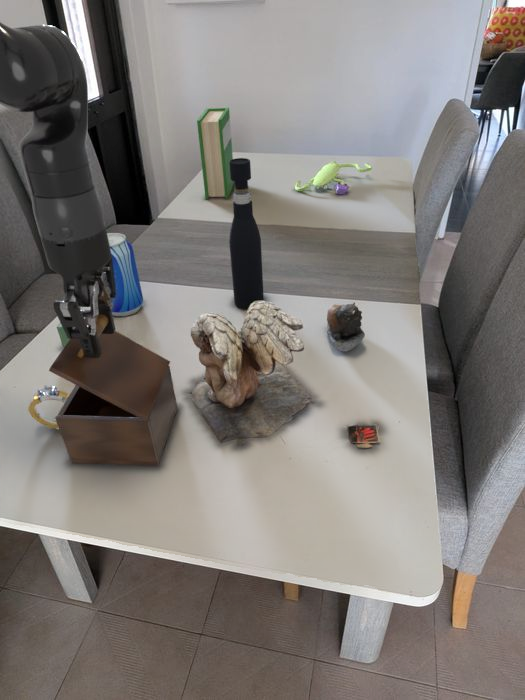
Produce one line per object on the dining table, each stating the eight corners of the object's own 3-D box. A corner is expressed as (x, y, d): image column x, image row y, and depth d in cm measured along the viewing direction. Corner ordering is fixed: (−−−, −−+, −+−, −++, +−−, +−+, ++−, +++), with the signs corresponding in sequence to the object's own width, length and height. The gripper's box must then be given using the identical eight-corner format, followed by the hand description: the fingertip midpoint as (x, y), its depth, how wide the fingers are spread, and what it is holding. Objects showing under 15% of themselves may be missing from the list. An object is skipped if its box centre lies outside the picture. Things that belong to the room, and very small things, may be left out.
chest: (71, 462, 76) (54, 418, 71) (101, 405, 86) (88, 363, 81) (157, 466, 75) (147, 421, 70) (177, 407, 85) (169, 365, 80)
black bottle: (254, 312, 109) (245, 167, 91) (228, 305, 111) (215, 163, 94) (269, 298, 113) (263, 157, 96) (244, 292, 116) (234, 154, 98)
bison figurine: (321, 324, 104) (322, 279, 98) (356, 322, 104) (359, 277, 98) (330, 359, 94) (332, 312, 88) (369, 357, 94) (373, 309, 88)
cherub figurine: (272, 355, 96) (269, 268, 85) (325, 412, 82) (328, 317, 72) (182, 386, 90) (167, 296, 79) (224, 453, 76) (211, 356, 66)
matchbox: (344, 428, 79) (344, 426, 79) (375, 422, 80) (375, 420, 80) (354, 450, 75) (355, 448, 75) (387, 444, 76) (388, 441, 76)
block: (63, 348, 101) (56, 326, 98) (73, 334, 105) (66, 313, 102) (87, 348, 100) (81, 327, 97) (97, 334, 104) (91, 313, 101)
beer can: (97, 310, 112) (79, 241, 103) (128, 294, 117) (113, 227, 108) (121, 322, 108) (104, 251, 98) (152, 305, 113) (138, 237, 104)
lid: (48, 370, 66) (63, 343, 63) (85, 318, 76) (99, 292, 73) (145, 420, 70) (163, 397, 67) (168, 364, 80) (184, 341, 77)
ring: (84, 421, 83) (71, 382, 79) (77, 435, 81) (63, 396, 76) (43, 420, 84) (28, 382, 79) (34, 434, 81) (18, 395, 77)
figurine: (377, 177, 178) (378, 161, 175) (338, 200, 161) (339, 182, 158) (330, 170, 188) (331, 154, 184) (289, 191, 171) (289, 174, 167)
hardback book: (228, 198, 167) (221, 119, 153) (205, 199, 168) (196, 120, 154) (234, 181, 182) (228, 107, 168) (213, 182, 182) (206, 108, 168)
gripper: (66, 204, 67) (93, 315, 77) (12, 251, 55) (52, 375, 65) (122, 205, 66) (142, 317, 76) (79, 253, 55) (109, 378, 65)
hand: (100, 343), depth 71 cm, fingers closed on lid, 5 cm apart
